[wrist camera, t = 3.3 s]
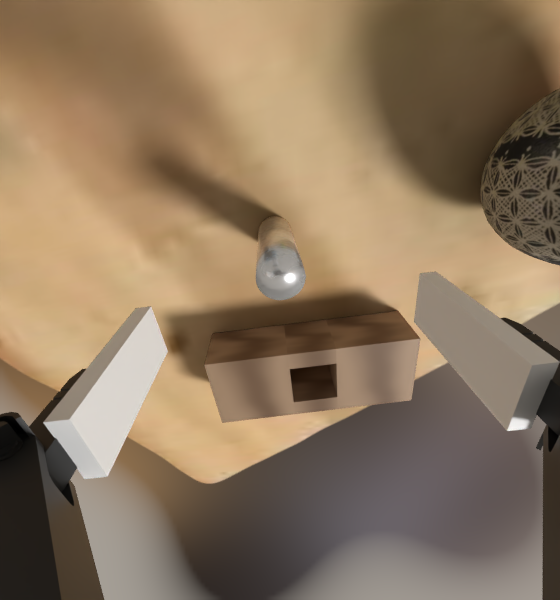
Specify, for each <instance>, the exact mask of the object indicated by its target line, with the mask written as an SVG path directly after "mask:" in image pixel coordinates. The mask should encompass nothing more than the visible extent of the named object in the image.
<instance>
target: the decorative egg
mask: <svg viewBox="0 0 560 600" xmlns="http://www.w3.org/2000/svg"><path fill="white" fill-rule="evenodd" d="M481 204H482V207H483V210H484V213H485V216H486V218H487V220H488V222H489V224H490V225H491V226H492V228H493V229H494V230H495V232H496V233H497V234H498V235H499V236H500V237H501V238H502V239H503V240H504V241H505V242H507V243H508V244H509V245H511V246H512V247H514V248H516V249H517V250H519V251H521V252H523V253H525V254H527V255H529V256H532V257H534V258H537V259H540V260H543V261H546V262H549V263H552V264H556V265H560V88H559V89H558V90H556V91H554V92H552V93H551V94H549V95H548V96H546V97H544V98H543V99H541V100H540V101H538V102H537V103H536V104H534V105H533V106H532V107H531V108H529V109H528V110H527V111H526V112H525V113H523V114H522V115H521V116H520V117H519V118H518V119H517V120H516V121H515V122H514V123H513V124H512V125H511V126H510V127H509V128H508V129H507V131H506V132H505V133H504V134H503V136H502V137H501V138H500V139H499V141H498V142H497V144H496V145H495V147H494V149H493V150H492V152H491V154H490V156H489V158H488V160H487V163H486V165H485V168H484V171H483V175H482V180H481Z"/></svg>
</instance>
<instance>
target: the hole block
mask: <svg viewBox="0 0 560 600" xmlns="http://www.w3.org/2000/svg"><path fill="white" fill-rule="evenodd" d="M419 344H420V338H419V336H418V335H417V334H416V333H415V331H414V330H413V329H412V328H411V326H410V325H409V324H408V323H407V321H406V320H405V319H404V318H403V316H402V315H401V314H400V313H399V311H392V312H384V313H376V314H368V315H360V316H352V317H343V318H335V319H327V320H319V321H311V322H303V323H295V324H287V325H279V326H271V327H262V328H254V329H246V330H238V331H230V332H222V333H214V334H212V338H211V341H210V345H209V349H208V353H207V356H206V360H205V364H204V366H205V369H206V372H207V376H208V379H209V382H210V385H211V388H212V391H213V395H214V398H215V401H216V404H217V407H218V411H219V414H220V417H221V420H222V423H224V422H233V421H241V420H249V419H258V418H266V417H275V416H283V415H291V414H300V413H308V412H316V411H325V410H333V409H341V408H350V407H358V406H366V405H374V404H383V403H391V402H400V401H408V400H411V398H412V392H413V385H414V378H415V371H416V365H417V358H418V351H419Z"/></svg>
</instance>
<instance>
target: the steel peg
mask: <svg viewBox="0 0 560 600" xmlns="http://www.w3.org/2000/svg"><path fill="white" fill-rule="evenodd" d="M305 278H306V275H305V270H304V267H303V264H302V261H301V258H300V255H299V252H298V248H297V245H296V242H295V239H294V236H293V233H292V230H291V227H290V224H289V223H288V222H287V221H286V220H285V219H284V218H282V217H279V216H272V217H268V218H267V219H265V220H264V221H263V222H262V223H261V225H260V227H259V232H258V249H257V266H256V283H257V286H258V288H259V290H260V291H261V292H262V293H263V294H264V295H265V296H267V297H269V298H271V299H275V300H286V299H289V298H292V297H294V296H295V295H296V294H298V293H299V292H300V291H301V289H302V288H303V286H304V283H305Z"/></svg>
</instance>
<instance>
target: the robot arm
mask: <svg viewBox="0 0 560 600" xmlns="http://www.w3.org/2000/svg"><path fill="white" fill-rule="evenodd" d="M414 322H415V323H416V325H417V326H418V327H419V328H420V329H421V330H422V332H423V333H424V334H425V335H426V336H427V338H428V339H429V340H430V341H431V342H432V343H433V345H434V346H435V347H436V348H437V349H438V350H439V352H440V353H441V354H442V355H443V356H444V358H445V359H446V360H447V361H448V362H449V363H450V364H451V366H452V367H453V368H454V369H455V370H456V372H457V373H458V374H459V375H460V376H461V377H462V379H463V380H464V381H465V382H466V383H467V384H468V386H469V387H470V388H471V389H472V390H473V392H474V393H475V394H476V395H477V396H478V397H479V399H480V400H481V401H482V402H483V403H484V405H486V407H487V408H488V409H489V410H490V411H491V413H492V414H493V415H494V416H495V417H496V418H497V420H498V421H499V422H500V423H501V424H502V426H503V427H504V428H505V429H506V430H507V431H511V430H520V429H529V428H531V427H532V425H533V422H534V420H535V418H536V415H538V416H539V417H540V418H541V419H542V420H543V421H544V422H545V423H546V424H547V425H546V427H545V429H544V432H543V434H542V436H541V438H540V440H539V442H538V444H537V447H536V448H537V449H539V450H541V448H542V446H543V600H560V351H559V350H558V349H556V348H554V347H553V346H552V345H550V344H549V343H547V342H546V341H543V339H542V338H540V337H539V336H537V335H536V334H533V332H532V331H530V330H529V329H527V328H526V327H524V326H523V325H521V324H519V323H517V322H515V321H512V320H510V319H507V318H499V317H497V316H496V315H495V314H493V313H492V312H491V311H489V310H488V309H487V308H485V307H484V306H482V305H481V304H480V303H478V302H477V301H476V300H474V299H473V298H471V297H470V296H469V295H467V294H466V293H465V292H463V291H462V290H460V289H459V288H458V287H456V286H455V285H454V284H452V283H451V282H449V281H448V280H447V279H445V278H444V277H443V276H441V275H440V274H439V273H437V272H428V273H420V276H419V284H418V293H417V301H416V309H415V317H414ZM167 352H168V351H167V348H166V345H165V343H164V340H163V337H162V334H161V332H160V329H159V326H158V324H157V321H156V318H155V316H154V313H153V310H152V308H151V306H150V307H142V308H135V310H134V311H133V312H132V313H131V315H130V316H129V317H128V318H127V320H126V321H125V322H124V323H123V324H122V326H121V327H120V328H119V329H118V331H117V332H116V333H115V334H114V336H113V337H112V338H111V339H110V341H109V342H108V343H107V344H106V345H105V347H104V348H103V349H102V350H101V352H100V353H99V354H98V355H97V357H96V358H95V359H94V360H93V362H92V363H91V364H90V365H89V366H88V368H87V369H82V370H81V371H79V372H78V373H77V374H75V375H74V376H73V377H72V378H70V379H69V380H68V381H67V383H66V384H65V385H64V386H63V387H62V389H61V391H60V392H58V393H57V395H56V396H55V397H54V399H53V400H52V401H51V402H50V403H49V404H48V405H47V406H46V407H45V409H44V410H43V411H42V412H41V413H40V415H39V416H38V417H37V418H36V419H35V420H34V422H33V423H32V424H31V425H30V426H29V427H28V425H27V424H26V423H25V421H24V420H23V419H22V418H21V416H20V415H19V414H18V413H14V412H9V413H4V414H1V415H0V600H104V597H103V593H102V589H101V585H100V582H99V578H98V574H97V570H96V566H95V562H94V559H93V555H92V551H91V547H90V543H89V540H88V536H87V532H86V528H85V524H84V520H83V517H82V513H81V509H80V506H79V501H78V498H77V494H76V490H75V486H74V485H73V483H72V482H71V481H70V479H71V477H72V475H73V474H74V472H75V470H76V469H78V471H79V472H80V473H81V475H82V476H83V478H84V479H89V478H99V477H107V476H108V474H109V472H110V470H111V468H112V466H113V464H114V462H115V460H116V458H117V456H118V453H119V452H120V449H121V447H122V445H123V443H124V441H125V439H126V437H127V435H128V433H129V431H130V429H131V427H132V424H133V422H134V420H135V418H136V416H137V414H138V412H139V410H140V408H141V406H142V404H143V402H144V400H145V397H146V395H147V393H148V391H149V389H150V387H151V385H152V383H153V381H154V379H155V377H156V375H157V373H158V370H159V368H160V366H161V364H162V362H163V360H164V358H165V356H166V354H167Z"/></svg>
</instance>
